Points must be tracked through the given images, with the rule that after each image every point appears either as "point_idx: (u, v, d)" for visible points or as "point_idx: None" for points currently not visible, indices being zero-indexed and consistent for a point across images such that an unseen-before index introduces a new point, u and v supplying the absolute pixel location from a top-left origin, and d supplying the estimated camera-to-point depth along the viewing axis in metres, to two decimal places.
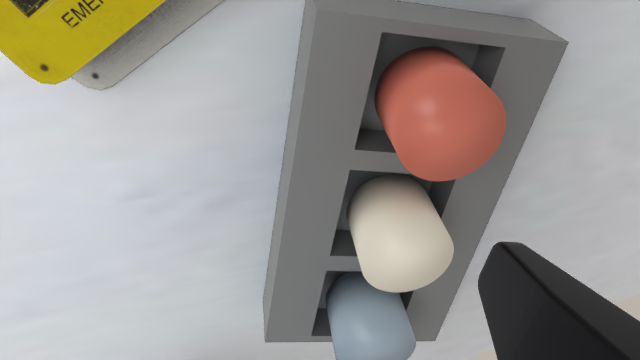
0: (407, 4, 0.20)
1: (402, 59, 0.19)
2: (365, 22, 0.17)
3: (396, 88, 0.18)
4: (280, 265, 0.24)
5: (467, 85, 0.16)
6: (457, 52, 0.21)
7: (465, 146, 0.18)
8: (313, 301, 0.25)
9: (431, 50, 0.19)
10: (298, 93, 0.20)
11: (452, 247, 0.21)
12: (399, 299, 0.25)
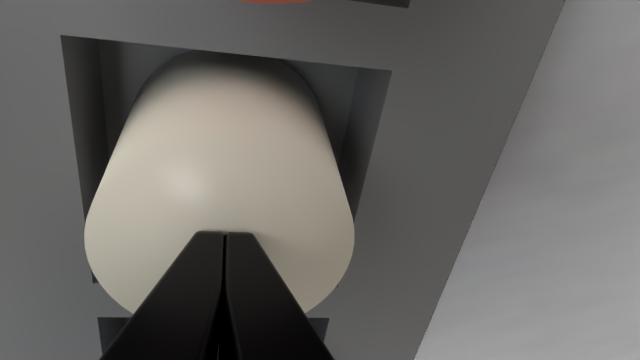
0: None
1: None
2: None
3: None
4: None
5: None
6: None
7: None
8: None
9: None
10: None
11: (348, 217, 0.07)
12: None
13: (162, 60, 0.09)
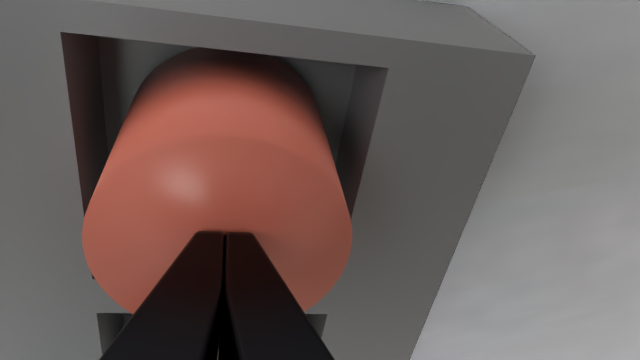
0: None
1: (157, 72, 0.09)
2: (5, 7, 0.07)
3: (117, 138, 0.08)
4: None
5: (228, 143, 0.06)
6: (312, 74, 0.10)
7: None
8: None
9: (214, 54, 0.09)
10: None
11: None
12: None
13: None
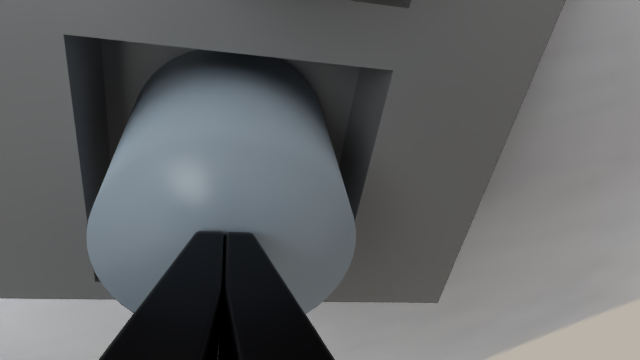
0: None
1: None
2: None
3: None
4: None
5: None
6: None
7: None
8: (60, 163, 0.08)
9: None
10: None
11: None
12: (315, 117, 0.09)
13: None
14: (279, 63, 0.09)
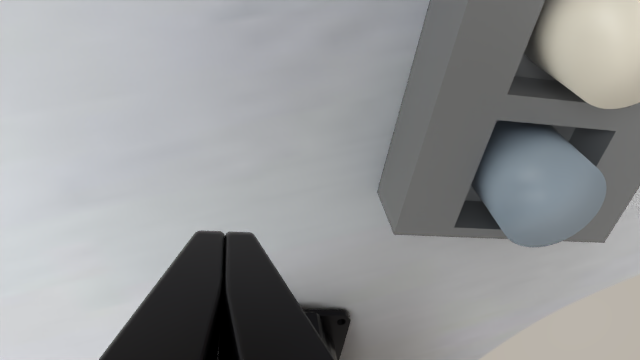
0: None
1: None
2: None
3: None
4: (439, 106, 0.17)
5: None
6: None
7: None
8: (469, 171, 0.19)
9: None
10: None
11: None
12: None
13: None
14: None
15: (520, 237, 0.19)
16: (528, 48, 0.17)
